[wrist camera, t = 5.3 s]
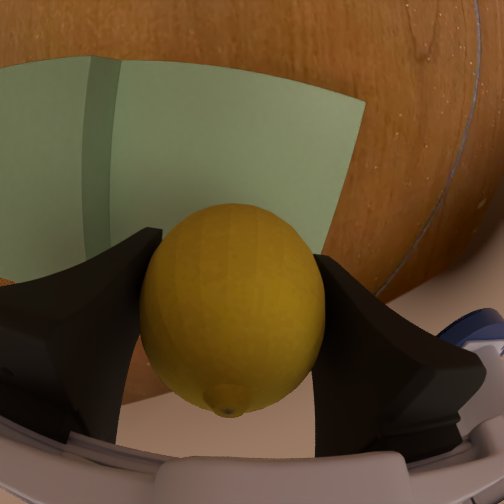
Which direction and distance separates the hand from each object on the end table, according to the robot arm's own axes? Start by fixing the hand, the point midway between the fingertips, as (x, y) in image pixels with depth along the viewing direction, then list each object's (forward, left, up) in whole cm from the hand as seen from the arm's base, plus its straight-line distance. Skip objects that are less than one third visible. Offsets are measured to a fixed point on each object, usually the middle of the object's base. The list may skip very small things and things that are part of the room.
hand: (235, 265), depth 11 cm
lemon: (0, 0, -2) cm, 2 cm away
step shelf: (+1, +15, -6) cm, 16 cm away
